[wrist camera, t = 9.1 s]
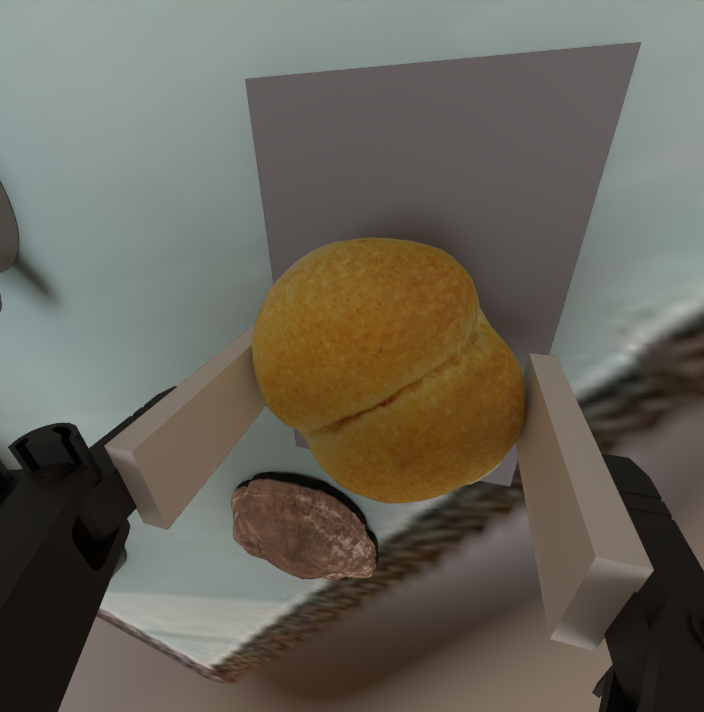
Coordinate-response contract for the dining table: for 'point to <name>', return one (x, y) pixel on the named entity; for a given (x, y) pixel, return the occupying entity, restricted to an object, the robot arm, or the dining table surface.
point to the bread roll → (388, 369)
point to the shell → (303, 527)
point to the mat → (448, 171)
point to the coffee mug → (7, 234)
